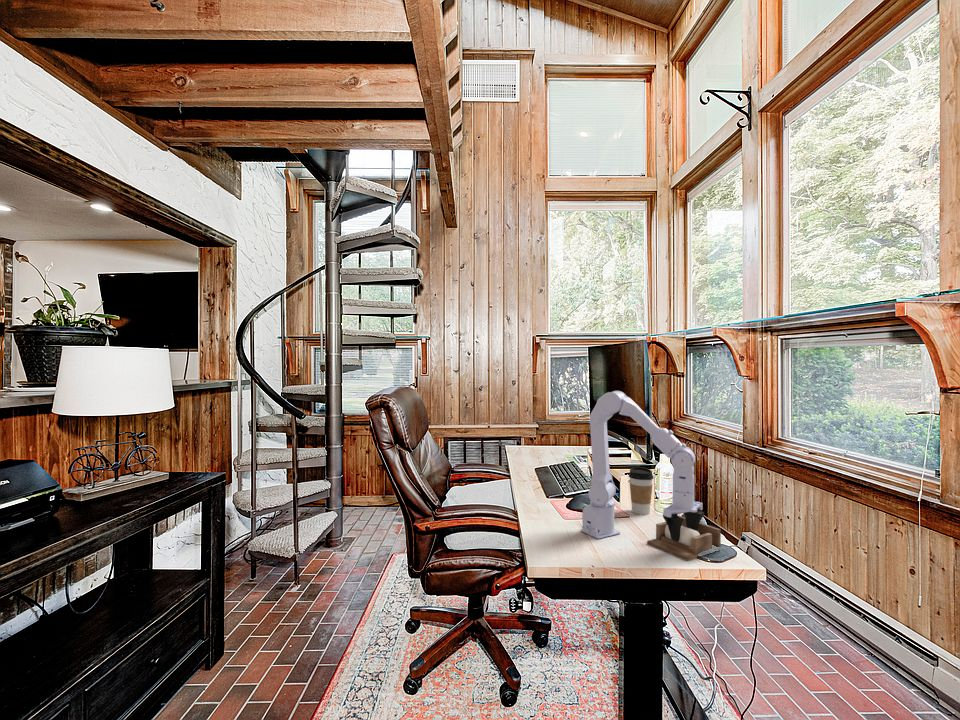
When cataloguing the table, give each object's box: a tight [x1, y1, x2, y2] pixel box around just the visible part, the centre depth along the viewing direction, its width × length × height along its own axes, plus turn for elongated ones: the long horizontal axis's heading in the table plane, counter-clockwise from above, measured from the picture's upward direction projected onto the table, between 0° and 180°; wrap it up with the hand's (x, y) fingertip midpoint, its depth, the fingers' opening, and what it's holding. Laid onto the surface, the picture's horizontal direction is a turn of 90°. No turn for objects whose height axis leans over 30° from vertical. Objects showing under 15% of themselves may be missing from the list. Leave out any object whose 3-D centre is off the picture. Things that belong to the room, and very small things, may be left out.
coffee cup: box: [628, 466, 654, 515], centre depth 167 cm, size 8×8×15 cm
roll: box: [665, 525, 700, 547], centre depth 136 cm, size 5×8×5 cm, turn 29°
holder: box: [646, 515, 722, 561], centre depth 136 cm, size 14×14×6 cm
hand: (683, 537), depth 136 cm, fingers open, 6 cm apart
